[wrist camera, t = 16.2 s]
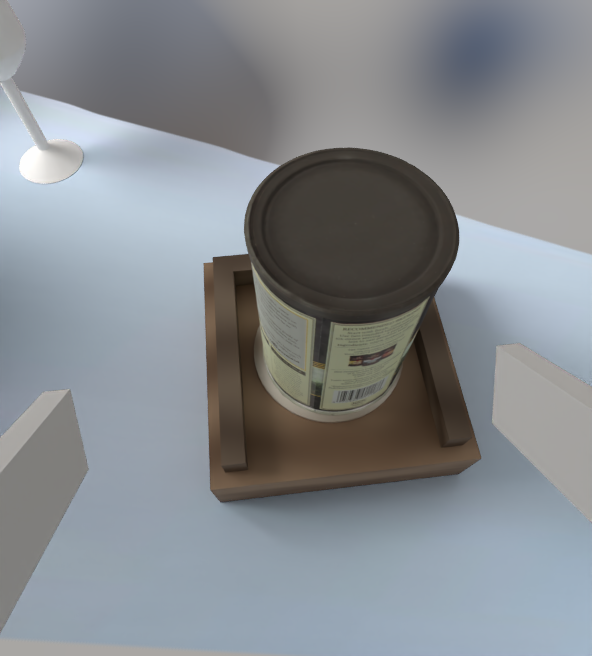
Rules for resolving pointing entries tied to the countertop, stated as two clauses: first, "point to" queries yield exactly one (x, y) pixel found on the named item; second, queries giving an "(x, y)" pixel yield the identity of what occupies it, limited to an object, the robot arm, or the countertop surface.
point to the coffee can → (345, 272)
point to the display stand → (318, 429)
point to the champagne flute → (46, 156)
